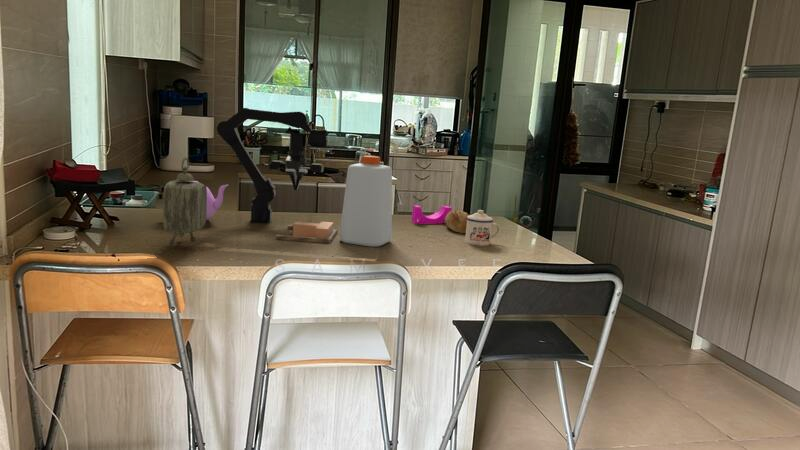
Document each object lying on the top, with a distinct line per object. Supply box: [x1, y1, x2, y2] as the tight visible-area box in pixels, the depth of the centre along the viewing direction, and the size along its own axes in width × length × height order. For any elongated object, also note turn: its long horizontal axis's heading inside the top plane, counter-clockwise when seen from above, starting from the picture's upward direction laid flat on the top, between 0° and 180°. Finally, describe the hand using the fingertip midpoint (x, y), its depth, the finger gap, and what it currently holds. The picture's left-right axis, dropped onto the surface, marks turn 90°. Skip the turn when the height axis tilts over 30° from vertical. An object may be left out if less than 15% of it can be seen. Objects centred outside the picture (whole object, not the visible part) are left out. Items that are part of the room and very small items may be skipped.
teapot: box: [190, 180, 229, 221], centre depth 210 cm, size 22×16×14 cm
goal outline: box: [275, 224, 338, 244], centre depth 199 cm, size 17×18×1 cm
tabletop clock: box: [162, 157, 207, 246], centre depth 176 cm, size 14×9×25 cm, turn 5°
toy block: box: [411, 204, 453, 225], centre depth 237 cm, size 15×6×8 cm, turn 109°
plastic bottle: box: [339, 155, 393, 248], centre depth 195 cm, size 15×15×28 cm
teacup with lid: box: [464, 209, 501, 247], centre depth 207 cm, size 12×9×12 cm
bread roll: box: [445, 209, 470, 234], centre depth 226 cm, size 10×15×8 cm, turn 13°
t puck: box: [292, 221, 334, 239], centre depth 199 cm, size 12×12×4 cm
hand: (295, 190), depth 217 cm, fingers closed
